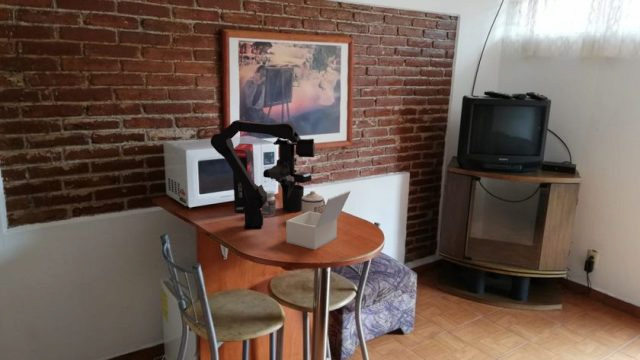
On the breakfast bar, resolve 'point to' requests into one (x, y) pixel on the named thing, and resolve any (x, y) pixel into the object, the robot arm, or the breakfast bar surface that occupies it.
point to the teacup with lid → (312, 203)
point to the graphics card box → (247, 160)
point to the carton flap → (333, 208)
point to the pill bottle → (269, 205)
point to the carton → (310, 231)
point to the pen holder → (293, 199)
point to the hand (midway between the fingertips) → (287, 197)
